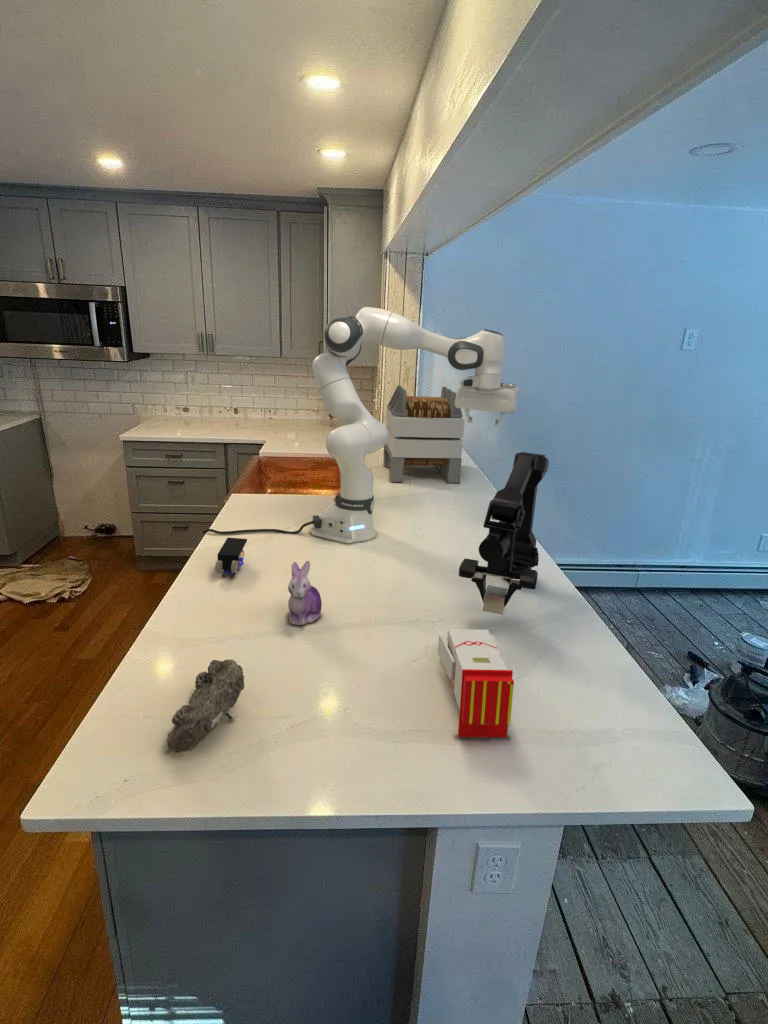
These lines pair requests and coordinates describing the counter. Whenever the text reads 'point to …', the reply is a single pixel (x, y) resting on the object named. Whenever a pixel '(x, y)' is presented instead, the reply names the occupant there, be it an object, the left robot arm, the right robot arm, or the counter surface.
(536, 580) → the right robot arm
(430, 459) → the transformer
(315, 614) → the figurine
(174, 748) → the fossil
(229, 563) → the figurine character
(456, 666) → the toy
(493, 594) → the beige cube
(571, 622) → the counter surface
